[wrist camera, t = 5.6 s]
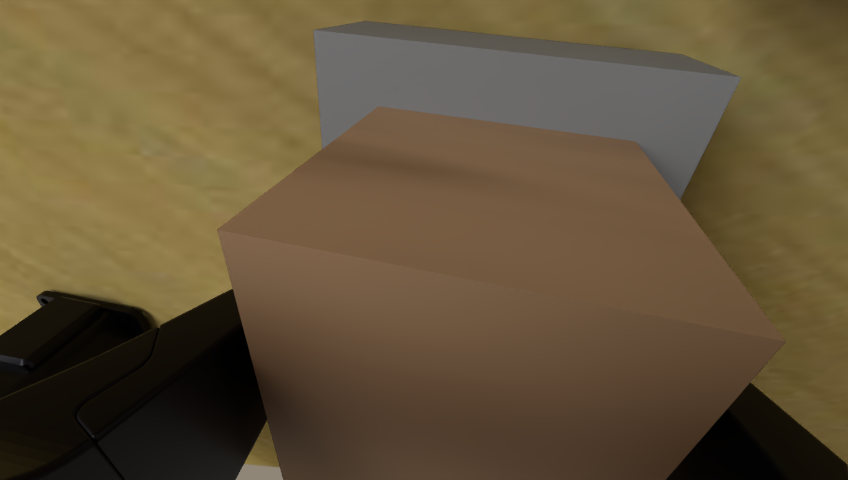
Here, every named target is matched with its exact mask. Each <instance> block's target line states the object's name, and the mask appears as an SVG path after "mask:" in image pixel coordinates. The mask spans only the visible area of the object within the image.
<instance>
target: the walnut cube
mask: <svg viewBox="0 0 848 480" xmlns="http://www.w3.org/2000/svg"><path fill="white" fill-rule="evenodd" d="M217 231H218V235H219V238H220V242H221V246H222V250H223V254H224V257H225V261H226V265H227V269H228V273H229V276H230V280H231V284H232V288H233V291H234V295H235V299H236V303H237V307H238V310H239V314H240V318H241V322H242V325H243V329H244V333H245V337H246V341H247V344H248V348H249V352H250V356H251V359H252V363H253V367H254V371H255V375H256V378H257V382H258V386H259V390H260V393H261V397H262V401H263V405H264V409H265V412H266V416H267V420H268V424H269V427H270V431H271V435H272V439H273V443H274V446H275V450H276V454H277V458H278V461H279V465H280V469H281V473H282V477H283V479H284V480H666V479H667V478H668V477H669V475H670V474H671V473H672V472H673V471H674V470H675V469H676V467H677V466H678V465H679V464H680V463H681V462H682V460H683V459H684V458H685V457H686V456H687V455H688V454H689V452H690V451H691V450H692V449H693V448H694V447H695V445H696V444H697V443H698V442H699V441H700V440H701V439H702V437H703V436H704V435H705V434H706V433H707V432H708V431H709V429H710V428H711V427H712V426H713V425H714V424H715V422H716V421H717V420H718V419H719V418H720V417H721V416H722V414H723V413H724V412H725V411H726V410H727V409H728V407H729V406H730V405H731V404H732V403H733V402H734V401H735V399H736V398H737V397H738V396H739V395H740V394H741V393H742V391H743V390H744V389H745V388H746V387H747V386H748V384H749V383H750V382H751V381H752V380H753V379H754V378H755V376H756V375H757V374H758V373H759V372H760V371H761V369H762V368H763V367H764V366H765V365H766V364H767V363H768V361H769V360H770V359H771V358H772V357H773V356H774V355H775V353H776V352H777V351H778V350H779V349H780V348H781V346H782V345H783V344H784V343H785V342H786V341H785V340H784V338H783V337H782V336H781V334H780V333H779V332H778V330H777V329H776V328H775V326H774V325H773V324H772V322H771V321H770V320H769V318H768V317H767V316H766V314H765V313H764V312H763V310H762V309H761V308H760V306H759V305H758V304H757V302H756V301H755V300H754V298H753V297H752V296H751V294H750V293H749V292H748V290H747V289H746V288H745V286H744V285H743V284H742V282H741V281H740V280H739V278H738V277H737V276H736V274H735V273H734V272H733V270H732V269H731V268H730V266H729V265H728V264H727V262H726V261H725V260H724V258H723V257H722V256H721V254H720V253H719V252H718V250H717V249H716V248H715V246H714V245H713V244H712V242H711V241H710V240H709V238H708V237H707V236H706V234H705V233H704V232H703V230H702V229H701V228H700V226H699V225H698V224H697V222H696V221H695V220H694V218H693V217H692V216H691V214H690V213H689V212H688V210H687V209H686V208H685V206H684V205H683V204H682V202H681V201H680V200H679V198H678V197H677V196H676V194H675V193H674V192H673V190H672V189H671V188H670V186H669V185H668V184H667V182H666V181H665V180H664V178H663V177H662V176H661V174H660V173H659V172H658V170H657V169H656V168H655V166H654V165H653V164H652V162H651V161H650V160H649V158H648V157H647V156H646V154H645V153H644V152H643V150H642V149H641V148H640V146H639V145H638V144H637V142H636V141H629V140H622V139H614V138H607V137H600V136H592V135H585V134H578V133H570V132H563V131H556V130H549V129H541V128H534V127H527V126H519V125H512V124H505V123H497V122H490V121H483V120H476V119H468V118H461V117H454V116H446V115H439V114H432V113H425V112H417V111H410V110H403V109H395V108H388V107H381V106H378V107H377V108H376V109H374V110H373V111H372V112H370V113H369V114H368V115H366V116H365V117H364V118H362V119H361V120H360V121H359V122H357V123H356V124H355V125H353V126H352V127H351V128H349V129H348V130H347V131H345V132H344V133H343V134H342V135H340V136H339V137H338V138H336V139H335V140H334V141H332V142H331V143H330V144H328V145H327V146H326V147H325V148H323V149H322V150H321V151H319V152H318V153H317V154H315V155H314V156H313V157H311V158H310V159H309V160H308V161H306V162H305V163H304V164H302V165H301V166H300V167H298V168H297V169H296V170H295V171H293V172H292V173H291V174H289V175H288V176H287V177H285V178H284V179H283V180H281V181H280V182H279V183H278V184H276V185H275V186H274V187H272V188H271V189H270V190H268V191H267V192H266V193H264V194H263V195H262V196H261V197H259V198H258V199H257V200H255V201H254V202H253V203H251V204H250V205H249V206H247V207H246V208H245V209H244V210H242V211H241V212H240V213H238V214H237V215H236V216H234V217H233V218H232V219H230V220H229V221H228V222H227V223H225V224H224V225H223V226H221V227H220V228H219V229H217Z"/></svg>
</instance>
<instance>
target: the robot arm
mask: <svg viewBox="0 0 848 480" xmlns="http://www.w3.org/2000/svg"><path fill="white" fill-rule="evenodd" d="M37 300H38V302H39V303H40V305H41V306H42V307H41V308H40V309H38V310H37V311H35V312H34V313H32V314H31V315H30V316H28V317H27V318H25V319H24V320H22V321H21V322H19V323H18V324H16V325H15V326H14V327H12V328H11V329H9V330H8V331H6V332H5V333H3V334H2V335H0V480H235V479H236V478H237V476H238V474H239V472H240V470H241V468H242V466H243V465H244V463H245V461H246V459H247V457H248V455H249V453H250V451H251V449H252V448H253V446H254V444H255V442H256V440H257V438H258V436H259V434H260V433H261V431H262V429H263V427H264V425H265V423H266V421H267V416H266V412H265V409H264V405H263V401H262V397H261V393H260V390H259V386H258V382H257V378H256V375H255V371H254V367H253V363H252V359H251V356H250V352H249V348H248V344H247V341H246V337H245V333H244V329H243V325H242V322H241V318H240V314H239V310H238V307H237V303H236V299H235V295H234V291H233V289H231V290H229V291H227V292H225V293H223V294H221V295H219V296H217V297H215V298H213V299H211V300H209V301H207V302H205V303H203V304H201V305H199V306H197V307H195V308H193V309H191V310H189V311H187V312H185V313H183V314H181V315H179V316H177V317H175V318H173V319H171V320H169V321H167V322H166V323H164V324H162V325H160V328H158V327H155V328H153V329H151V330H150V328H149V325H148V323H147V321H146V319H145V317H144V315H143V314H142V313H141V312H140V311H139V310H137V309H135V308H131V307H126V306H121V305H116V304H111V303H106V302H101V301H96V300H91V299H86V298H81V297H76V296H71V295H66V294H61V293H56V292H51V291H44V292H42V293H41V294H39V295H38V296H37ZM666 480H848V465H847V464H846V463H845V462H844V461H843V460H842V459H840V458H839V457H838V456H837V455H836V454H835V453H833V452H832V451H831V450H830V449H829V448H827V447H826V446H825V445H824V444H823V443H821V442H820V441H819V440H818V439H817V438H816V437H814V436H813V435H812V434H811V433H810V432H808V431H807V430H806V429H805V428H804V427H803V426H801V425H800V424H799V423H798V422H797V421H795V420H794V419H793V418H792V417H791V416H790V415H788V414H787V413H786V412H785V411H784V410H782V409H781V408H780V407H779V406H778V405H776V404H775V403H774V402H773V401H772V400H771V399H769V398H768V397H767V396H766V395H765V394H763V393H762V392H761V391H760V390H759V389H758V388H756V387H755V386H754V385H753V384H752V383H749V384H748V386H747V387H746V388H745V389H744V390H743V391H742V393H741V394H740V395H739V396H738V397H737V398H736V399H735V401H734V402H733V403H732V404H731V405H730V406H729V407H728V409H727V410H726V411H725V412H724V413H723V414H722V416H721V417H720V418H719V419H718V420H717V421H716V422H715V424H714V425H713V426H712V427H711V428H710V429H709V431H708V432H707V433H706V434H705V435H704V436H703V437H702V439H701V440H700V441H699V442H698V443H697V444H696V445H695V447H694V448H693V449H692V450H691V451H690V452H689V454H688V455H687V456H686V457H685V458H684V459H683V460H682V462H681V463H680V464H679V465H678V466H677V467H676V469H675V470H674V471H673V472H672V473H671V474H670V475H669V477H668V478H667V479H666Z"/></svg>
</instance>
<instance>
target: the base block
mask: <svg viewBox="0 0 848 480" xmlns="http://www.w3.org/2000/svg"><path fill="white" fill-rule="evenodd" d="M313 31H314V44H315V57H316V70H317V84H318V97H319V110H320V124H321V137H322V149H323V148H325V147H326V146H327V145H328V144H330V143H331V142H332V141H334V140H335V139H336V138H338V137H339V136H340V135H342V134H343V133H344V132H345V131H347V130H348V129H349V128H351V127H352V126H353V125H355V124H356V123H357V122H359V121H360V120H361V119H362V118H364V117H365V116H366V115H368V114H369V113H370V112H372V111H373V110H374V109H376V108H377V107H378V106H381V107H388V108H395V109H403V110H410V111H417V112H425V113H432V114H439V115H446V116H454V117H461V118H468V119H476V120H483V121H490V122H497V123H505V124H512V125H519V126H527V127H534V128H541V129H549V130H556V131H563V132H570V133H578V134H585V135H592V136H600V137H607V138H614V139H622V140H629V141H636V142H637V144H638V145H639V146H640V148H641V149H642V150H643V152H644V153H645V154H646V156H647V157H648V158H649V160H650V161H651V162H652V164H653V165H654V166H655V168H656V169H657V170H658V172H659V173H660V174H661V176H662V177H663V178H664V180H665V181H666V182H667V184H668V185H669V186H670V188H671V189H672V190H673V192H674V193H675V194H676V196H677V197H678V198H679V200H680V199H681V197H682V195H683V193H684V191H685V189H686V187H687V185H688V183H689V181H690V179H691V177H692V175H693V173H694V171H695V169H696V167H697V165H698V163H699V161H700V159H701V157H702V155H703V153H704V151H705V149H706V147H707V145H708V143H709V141H710V139H711V137H712V135H713V133H714V131H715V129H716V127H717V125H718V123H719V121H720V119H721V117H722V115H723V113H724V111H725V109H726V107H727V105H728V103H729V101H730V99H731V97H732V95H733V93H734V91H735V89H736V87H737V85H738V83H739V81H740V79H741V77H739V76H737V75H734V74H731V73H729V72H726V71H724V70H721V69H718V68H716V67H713V66H711V65H708V64H705V63H703V62H700V61H698V60H695V59H692V58H690V57H687V56H685V55H682V54H674V53H665V52H655V51H646V50H636V49H627V48H617V47H608V46H598V45H589V44H579V43H569V42H560V41H550V40H541V39H531V38H522V37H512V36H503V35H493V34H484V33H474V32H465V31H455V30H446V29H436V28H427V27H417V26H407V25H398V24H388V23H379V22H369V21H363V22H357V23H352V24H346V25H340V26H334V27H328V28H322V29H316V30H313Z"/></svg>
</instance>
